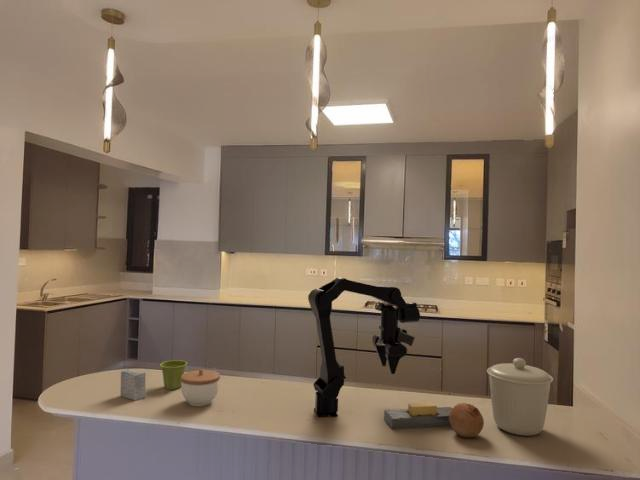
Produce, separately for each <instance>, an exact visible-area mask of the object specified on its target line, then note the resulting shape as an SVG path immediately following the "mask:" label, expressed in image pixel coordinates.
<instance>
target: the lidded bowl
mask: <svg viewBox="0 0 640 480" xmlns="http://www.w3.org/2000/svg"><path fill="white" fill-rule="evenodd" d="M220 378H221V373H219V372H218V371H215V370H212V369H211V370H210V369H202V368H200V369H198V370H191V371H187V372H184V374H183V375H182V376H181V392H182V396H183V399H185V401H186V402H188V404H189V405H190V406H192V407H204V406H207V405H210V404H212V401H213V400H214V399H215V398H216V396H217V395H218V393H219V389H220Z"/></svg>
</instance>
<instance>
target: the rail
mask: <svg viewBox="0 0 640 480" xmlns="http://www.w3.org/2000/svg"><path fill="white" fill-rule="evenodd" d="M452 408H453V407H452V406H441V407H438V406H437V414H436V415H429V414H424V415H418V416H410V415H409V412H408V408H398V409H397V408H396V409H384V410H383V420H384V422H385V423H386V424H387V425H388V427H389V429H390V428H391V430H397V429H398V430H399V429H401V430H402V429H416V428H417V429H418V428H419V429H420V428H434V427H435V428H437V427H451V423H450V422H449V414H450V411H451V410H452Z"/></svg>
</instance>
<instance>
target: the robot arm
mask: <svg viewBox="0 0 640 480" xmlns="http://www.w3.org/2000/svg"><path fill="white" fill-rule="evenodd" d="M345 291H346V292H350V293H354V294H355V293H356V294H360V295H363V296H368V297H372V298H373V299H376V300H377V301H381V302H380V303H379V304H378V305H377V306H375V310H376V311H379V312H380V325H378V329H379V330H380V334H374V335H373V336H372V344H373V346H374V348H375V350H376V353H377V356H378V359H379V361H380V363H381V366H382V367H386V366H387V365H388V367H389V372H390V374H391V375H395V374H396V371H397V367H398V365H399V362H400V359H402V358H403V357H406V356H407V355H408V348H407V347H406V346H405V345H404V344H406V345H408V346H409V347H413V343H414V341H415V336H413V335H411V334H409V333H408V330H407V329H404V328H401V327H399V322H400V324H407V323H418V322H419V321H420V318H421V313H420V310H419V308H418V306H417V304H418V303H416V302H413V301H412V302H411V301H410V302H406V301H405V299H404V298H403V295H402V291H401V289H400V288H399V287H395V286H391V285H390V286H389V285H381V284H380V285H374V284H373V285H372V284H368V283H365V282H364V283H363V282H359V281H354V280H350V279H347V278H344V277H339V276H338V277H336V278H334V279H332V280H331V281H329V282H328V283H325V284H324V285H321V286H320V287H318V288H314V289H312V290H311V291H310V293H309V294H308V296H307V298H308V303H309V306H310V308H311V311H312V313H313V315H314V317H315V321H316V322H315V323H316V328H317V335H318V342H319V349H320V353H321V365H320V370H319V373H320V374H319V377H318V378H317V379H316V380H315V381H314V382H313V384H312V385H313V389H314V391H315V397H314V398H315V400H314V401H315V402H314V403H315V405H314V408H313V410H314V413H315V415H316V417H337V416H338V411H339V399H338V397H339V394H340V390H341V389H342V387H343V386H344V385H345V379H347V377H346V375H345V367H344V365H343V364H341V363H339V361H338V360H337V356H336V355H337V354H336V351H335V350H336V349H335V343H334V335H333V329H332V324H331V314H332V310H333V302H334V301H335V300H337V299H338V298H339V297H340V295H341V294H342V293H343V292H345ZM382 302H383V303H382ZM384 303H387V304H384ZM394 306H396V307H394ZM402 343H404V344H402Z"/></svg>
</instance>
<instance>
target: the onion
mask: <svg viewBox="0 0 640 480" xmlns="http://www.w3.org/2000/svg"><path fill="white" fill-rule="evenodd" d="M451 408H452V410H451V411H450V414H449V422H450V423H451V426H450V427H451V430H452V431H454V432H455V434H457V435H458V436H460V437H461V438H475V437H476V436H478V435H479V434H480V433H481V432H482V431H483V428H484V425H485V421H484V417H483V415H482V413H481V412H480V410H479V408H478V407H476V406H474V405H473V404H469V403H465V402H461V403H460V402H459V403H457V404H456V405H454V406H453V407H451Z"/></svg>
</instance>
